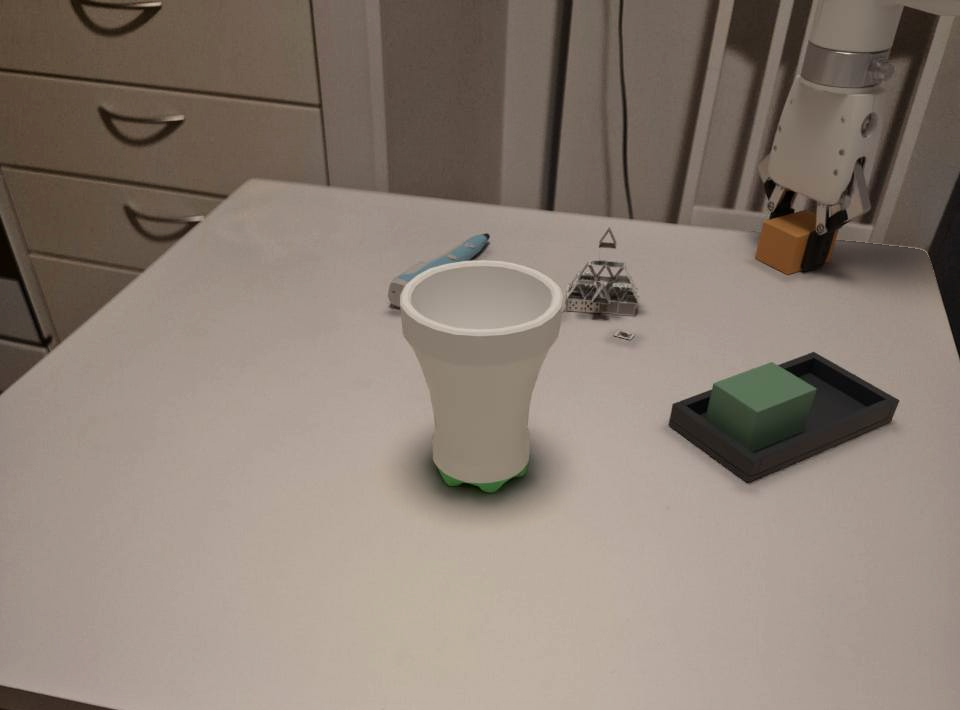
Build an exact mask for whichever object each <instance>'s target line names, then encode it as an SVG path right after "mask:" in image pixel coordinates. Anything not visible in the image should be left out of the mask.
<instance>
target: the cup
mask: <svg viewBox="0 0 960 710" xmlns="http://www.w3.org/2000/svg"><path fill="white" fill-rule="evenodd" d="M563 304H564V295H563V292H562V288H561V287H560V286H559V285H558V284H557V283H556V282H555V281H554V280H553V279H551V278H550V277H549V276H547V275H545V274H543V273H542V272H540V271H538V270H537V269H534V268H531V267H528V266H525V265H522V264H519V263H514V262H508V261H504V260H490V259H489V260H486V259H483V260H482V259H481V260H480V259H479V260H468V261H462V262H455V263H449V264H444V265H441V266H437V267H433V268H430V269H428V270H426V271H424V272H422V273H420V274H419V275H417V276H416V277H414V278H413V279H412V280H411V281H410V282H409V283H407V284H406V285H405V287H404V289H403V291H402V293H401V295H400V307H399V309H400V319H401V329H402V335H403V338H404V339H405V340H406V342H407V343H408V344H409V346H410V347H411V349H412V350H413V352H414V354H415V356H416V359H417V361H418V363H419V366H420V368H421V371H422V374H423V377H424V380H425V383H426V386H427V388H428V391H429V395H430V396H429V397H430V401H431V407H432V412H433V422H434V431H433V433H432V437H431V438H432V439H431V440H432V461H433V462H434V464H435V466H436V468H437V470H438V472H439V473H440V476H441V477H442V479H443V480H444V483H445V484H447V485H448V486H449V487H451V486H453V487H457V486H460V485H462V484H464V483H465V484H469V485H473V486H477V487H478V488H479V489H480V490H481V491H482V492H485V493H487V494H491V493H496V492H497V491H498V490H499V489H501V488H502V486H503V485H504V484H505V483H507V482H508V481H509V480H511V479H512V478H520V477H523V476H525V474H526V473H527V470H528V467H529V462H530V455H531V454H530V453H531V436H530V430H529V427H528V425H529V416H530V406H531V401H532V396H533V391H534V389H535V386H536V383H537V380H538V377H539V374H540V371H541V369H542V366H543V364H544V361H545V360H546V357H547V355H548V353H549V350H550V349H551V348H552V347H553V345H554V344H555V343H556V341H558V339H559V335H560V330H561V326H562V316H563V315H562V313H563V312H562V309H563Z"/></svg>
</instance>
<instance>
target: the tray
mask: <svg viewBox="0 0 960 710" xmlns="http://www.w3.org/2000/svg"><path fill="white" fill-rule="evenodd" d="M777 365H778V366H780V367H781V368H783V369H785V370H786V371H788V372H790V373H791V374H793V375H795V376H796V377H798V378H800V379H801V380H803V381H805V382H806V383H808V384H810V385H811V386H813V387H815V388H816V389H817V390H816V393H815V396H814V399H813V402H812V406H811V409H810V412H809V415H808V418H807V421H806V424H805V427H804V430H803V432H801V433H798V434H796V435H794V436H791V437H789V438H786V439H784V440H781V441H779V442H777V443H774V444H772V445H769V446H767V447H765V448H762V449H760V450H757V451H755V452H751V451H750V450H749V449H747V448H746V447H744V446H743V445H741V444H740V443H739V442H737V441H736V440H734V439H733V438H731V437H730V436H728V435H727V434H726V433H724V432H723V431H721V430H720V429H718V428H717V427H716V426H714V425H713V424H711V423H710V422H708V421H707V420H706V414H707V410H708V405H709V401H710V396H711V392H712V388H711V389H709V390H706V391H703V392H701V393H698V394H695V395H693V396H690V397H687V398H685V399H683V400H680V401H677V402H673V403H672V404H671V409H670V410H671V411H670V416H669V420H668V426H669V428H672V429H673V430H674V431H676V432H677V433H679V434H680V435H681V436H683V437H684V438H685V439H686V440H688V441H689V442H690V443H692V444H693V445H695V446H696V447H698V448H699V449H700V450H702V451H703V452H704V453H706V454H707V455H708V456H710V458H713V459H714V460H715V461H716V462H718V463H720V464H721V465H722V466H724V467H725V468H726V469H728V470H729V471H731V472H732V473H733V474H735V475H736V476H737V477H738V478H740V479H741V480H743V481H744V482H746V484H750V483H752V482H754V481H756V480H759V479H761V478H763V477H766V476H768V475H770V474H773V473H775V472H777V471H780V470H782V469H785V468H787V467H789V466H791V465H794V464H796V463H798V462H801V461H803V460H806V459H808V458H810V457H813V456H815V455H817V454H819V453H822V452H824V451H826V450H827V451H828V450H829V449H832V448H834V447H837V446H838V445H840V444H843V443H845V442H847V441H850V440H853V439H854V438H857V437H859V436H862V435H864V434H867V433H868V432H871V431H873V430H876V429H878V428H880V427H883V426H885V425H887V424H889V423H892V421H893V418H894V416H895V413H896V411H897V409H898V406H899V403H900V399H898V398H896V397H894V396H893V395H891V394H889V393H888V392H886V391H884V390H882V389H881V388H879V387H877V386H875V385H874V384H872V383H870V382H868V381H867V380H865V379H863V378H861V377H859V376H858V375H856V374H854V373H853V372H850V371H849V370H847V369H845V368H843V367H842V366H840V365H838V364H837V363H834V362H833V361H831V360H829V359H828V358H826V357H824V356H822V355H820V354H818V353H817V352H815V351H811V352H808V353H807V354H803V355H801V356H798V357H796V358H793V359H790V360H788V361H784V362H782V363H780V364H777Z"/></svg>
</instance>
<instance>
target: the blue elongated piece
mask: <svg viewBox="0 0 960 710" xmlns="http://www.w3.org/2000/svg"><path fill="white" fill-rule="evenodd" d="M490 238H491V236H490V234H489V233H487V232H486V233H480V234H476V235H473V236H472V237H471V236H470V237H469V238H468V239H466V240H464V241H463V242H461V243H459V244H457V245H456V246H454V247H453V248H451V249H449V250H448V251H446V252H444V253H442V254H440V255H439V256H436V257H434V258H431V259H428V260H425V261H423V260H422V261H418V262H417V263H415V264H413V265H412V266H410V267H409V268H408V269H406V270H405V271H404V272H402V273H400V274H398V275H397V276H396V277H394V278H393V279H392V281H391V282H390V284H389V287H388V292H387V297H388V300H389V302H390V304H391V305H392V306H393V305H394V307H397V308H400V295H401V293H402V291H403V289H404V287H405V285H406V284H407V283H409V282H410V281H411V280H412V279H413V278H414V277H416V276H417V275H419V274H420V273H422V272H424V271H426V270H428V269H430V268H433V267H437V266H441V265H444V264H449V263H455V262H462V261H471V259H473V257H475V256H476V255H477V254H478V253H479V252H480V251H482V249H483V248H484V247H486V245H487V244H488V242H489V239H490Z"/></svg>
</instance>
